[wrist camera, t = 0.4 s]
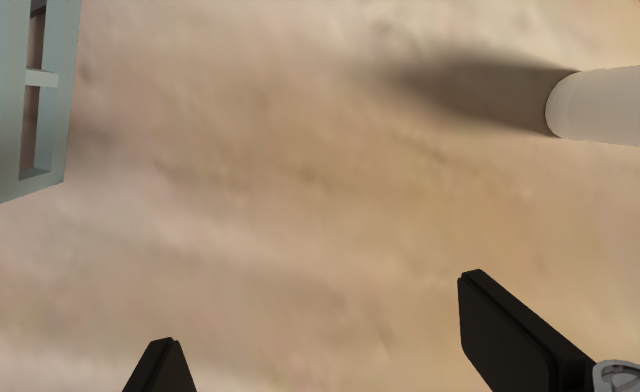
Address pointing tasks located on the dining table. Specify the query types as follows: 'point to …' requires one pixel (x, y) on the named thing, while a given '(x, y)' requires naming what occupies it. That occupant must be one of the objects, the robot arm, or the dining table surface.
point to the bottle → (597, 106)
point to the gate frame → (37, 7)
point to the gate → (54, 98)
